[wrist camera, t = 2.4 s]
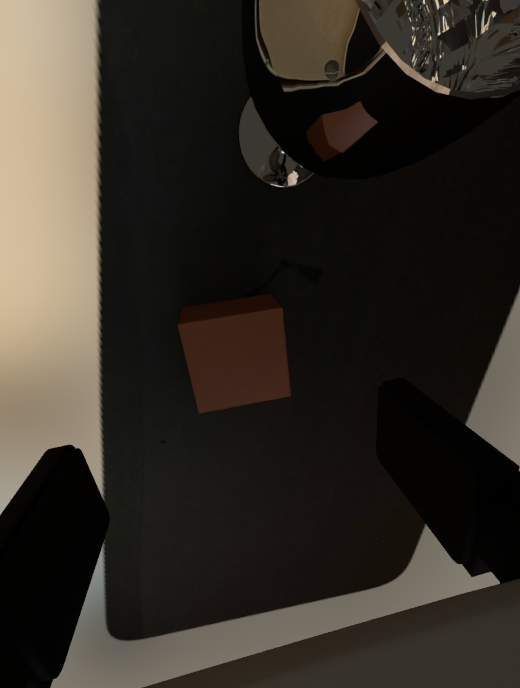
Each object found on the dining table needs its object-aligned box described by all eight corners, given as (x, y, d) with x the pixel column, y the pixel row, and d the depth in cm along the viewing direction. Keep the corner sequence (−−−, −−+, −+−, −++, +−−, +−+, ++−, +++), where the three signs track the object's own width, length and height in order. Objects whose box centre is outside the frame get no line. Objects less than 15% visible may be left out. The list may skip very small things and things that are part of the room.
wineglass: (243, 215, 16) (325, 190, 4) (207, 78, 13) (195, -643, 2) (348, 185, 16) (670, 91, 5) (330, 46, 14) (865, -751, 2)
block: (270, 293, 17) (282, 307, 14) (278, 370, 19) (291, 396, 16) (182, 307, 17) (177, 324, 14) (200, 384, 19) (198, 414, 16)
